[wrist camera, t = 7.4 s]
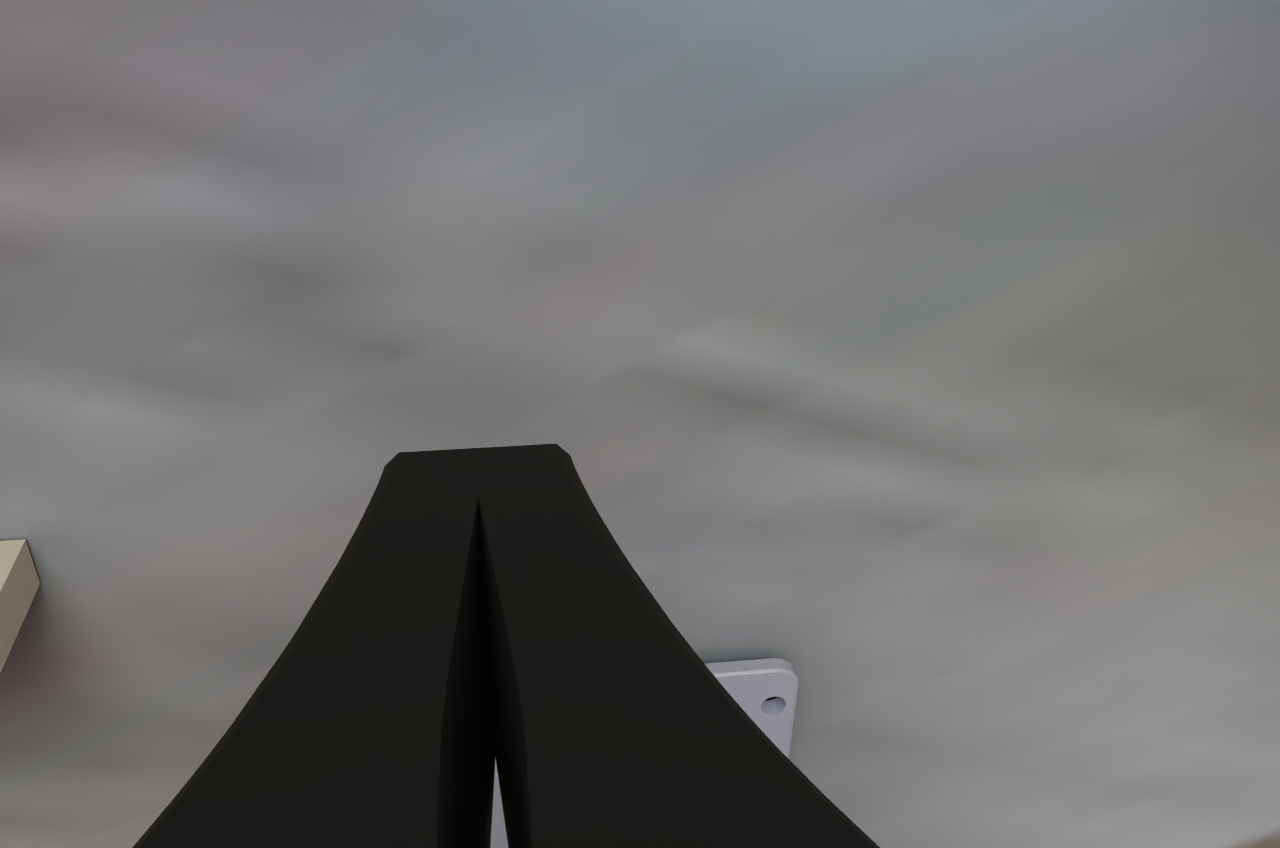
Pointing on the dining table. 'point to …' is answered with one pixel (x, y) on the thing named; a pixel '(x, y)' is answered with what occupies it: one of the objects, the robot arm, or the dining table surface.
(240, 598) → the dining table surface
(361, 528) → the robot arm
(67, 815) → the dining table surface
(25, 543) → the box
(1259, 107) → the dining table surface
